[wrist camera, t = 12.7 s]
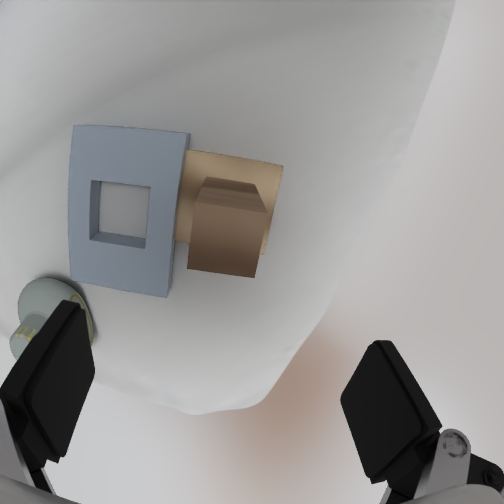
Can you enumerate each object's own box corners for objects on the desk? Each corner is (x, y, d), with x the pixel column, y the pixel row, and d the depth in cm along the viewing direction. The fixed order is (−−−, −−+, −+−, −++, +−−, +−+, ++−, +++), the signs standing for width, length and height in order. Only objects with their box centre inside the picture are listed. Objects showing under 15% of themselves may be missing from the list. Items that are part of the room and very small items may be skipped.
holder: (84, 124, 24) (73, 125, 22) (190, 133, 26) (186, 134, 24) (80, 269, 30) (71, 279, 28) (170, 285, 32) (166, 298, 30)
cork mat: (187, 149, 26) (186, 149, 26) (282, 165, 28) (283, 166, 27) (175, 238, 30) (174, 240, 29) (262, 252, 31) (263, 254, 31)
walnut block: (206, 176, 27) (194, 202, 18) (254, 184, 28) (268, 213, 18) (199, 222, 29) (187, 268, 20) (245, 229, 29) (254, 278, 20)
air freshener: (104, 341, 34) (79, 397, 25) (56, 340, 34) (26, 389, 25) (77, 266, 30) (35, 314, 21) (27, 270, 30) (-16, 313, 21)
